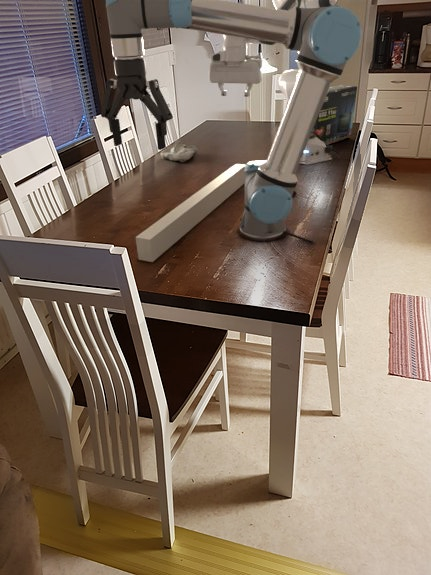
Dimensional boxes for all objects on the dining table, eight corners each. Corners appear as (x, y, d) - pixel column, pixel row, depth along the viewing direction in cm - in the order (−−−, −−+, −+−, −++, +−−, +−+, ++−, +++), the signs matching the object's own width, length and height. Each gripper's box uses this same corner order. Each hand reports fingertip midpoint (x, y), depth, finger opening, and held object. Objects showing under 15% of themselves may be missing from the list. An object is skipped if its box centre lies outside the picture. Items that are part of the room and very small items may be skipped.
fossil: (184, 156, 217) (163, 136, 220) (174, 174, 223) (154, 154, 227) (205, 153, 231) (186, 134, 234) (195, 171, 237) (176, 152, 240)
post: (152, 262, 134) (149, 239, 130) (138, 259, 136) (135, 237, 132) (246, 181, 194) (246, 164, 191) (235, 180, 196) (235, 163, 192)
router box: (314, 151, 231) (318, 94, 217) (296, 148, 237) (299, 92, 224) (352, 138, 251) (358, 85, 238) (335, 135, 258) (340, 83, 245)
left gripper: (181, 56, 109) (187, 146, 120) (96, 56, 118) (109, 140, 129) (166, 59, 103) (174, 153, 114) (77, 59, 113) (92, 146, 124)
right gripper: (264, 54, 165) (264, 95, 172) (213, 54, 173) (214, 94, 180) (259, 56, 160) (258, 98, 167) (206, 56, 168) (207, 96, 175)
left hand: (139, 146), depth 122 cm, fingers open, 13 cm apart
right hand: (235, 96), depth 174 cm, fingers open, 8 cm apart
